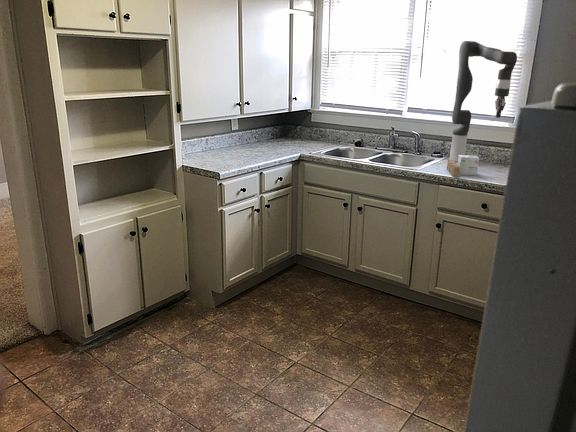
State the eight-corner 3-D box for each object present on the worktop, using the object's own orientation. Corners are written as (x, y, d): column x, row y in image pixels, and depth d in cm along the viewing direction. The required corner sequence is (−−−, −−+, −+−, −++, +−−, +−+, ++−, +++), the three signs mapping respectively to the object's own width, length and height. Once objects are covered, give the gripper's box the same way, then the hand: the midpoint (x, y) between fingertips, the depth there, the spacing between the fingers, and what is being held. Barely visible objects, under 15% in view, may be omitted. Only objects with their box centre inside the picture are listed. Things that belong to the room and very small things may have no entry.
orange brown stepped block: (446, 169, 295) (447, 159, 293) (451, 169, 295) (453, 159, 293) (453, 177, 277) (454, 166, 275) (458, 177, 276) (459, 167, 274)
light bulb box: (474, 172, 288) (476, 155, 284) (477, 175, 282) (480, 157, 278) (455, 172, 289) (458, 154, 285) (458, 174, 282) (461, 156, 279)
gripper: (493, 86, 287) (488, 116, 292) (499, 88, 274) (494, 118, 280) (506, 87, 286) (501, 116, 292) (513, 88, 274) (507, 119, 279)
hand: (498, 117), depth 286 cm, fingers closed
